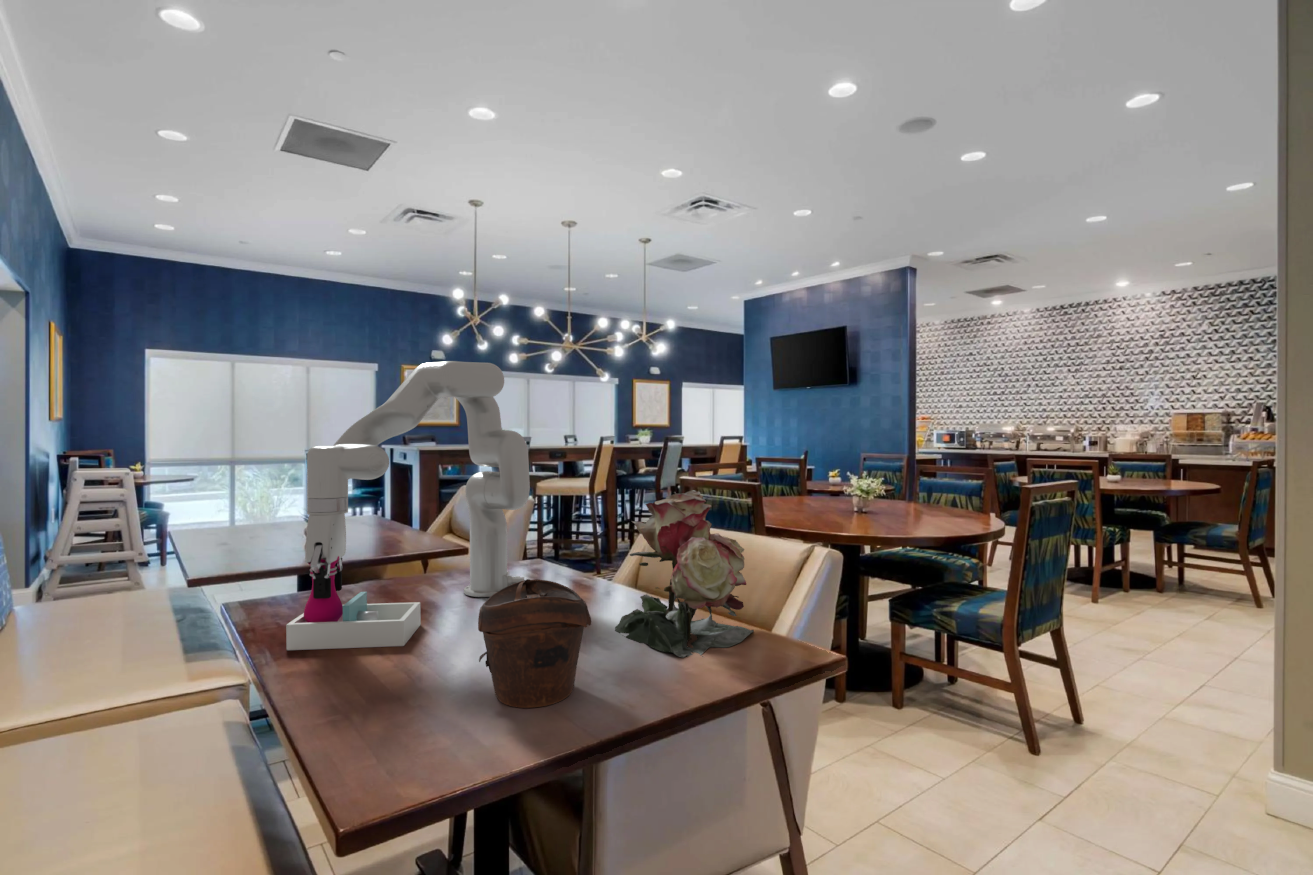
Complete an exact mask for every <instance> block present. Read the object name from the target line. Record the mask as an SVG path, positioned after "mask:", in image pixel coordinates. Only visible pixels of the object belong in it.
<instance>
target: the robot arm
mask: <svg viewBox="0 0 1313 875" xmlns="http://www.w3.org/2000/svg"><path fill="white" fill-rule="evenodd" d="M504 385H505V376H504V373H503V371H502V369H501V368H500V367H499V366H497V365H496V364H494V363H493V362H492V363H491V362H477V361H476V362H472V361H458V360H445V361H432V362H424V363H421V364H419V365H418V366H417V367H416V368H414V369H413V371H411V373H410V374H408V376H407V377H406V378H405V379H404V380H403V382H401V384H400V385H398V387H397V389H396V390H395V391H393V393H392V394H391V396H390V397H388V399H387V400H386V401H385V402H384V403H383V404H382V405H379V406H378V407H377V408H375V409H373V410H372V411H370V412H368V414H366V415H364V416H363V417H362V418H360V419H358V420H357V421H356V422H354V423H353V424H352V425H350V427H349V428H348V429H346V430H345V431H344V433H342V435H340V437H339V438H338V439H337V440H336V442H334V444H333V445H317V446H311V447H310V448H309V449H308V451H307V455H306V460H307V461H306V462H307V463H306V464H307V465H306V470H307V472H306V478H307V480H306V481H307V482H306V489H307V490H306V492H307V494H306V497H307V499H306V500H307V502H306V505H307V506H306V508H307V510H306V512H307V513H306V514H307V515H308V519H307V525H306V526H307V527H306V535H305V550H304V551H305V555H304V556H305V558H304V562H305V563H306V565H309V564H310V565H309V566H310V569H311V568H312V572H313V597H314V598H315V599H320V598H330V597H331V578H329V573H330V565H331V563H332V562H334V561H336V560H337V558H338V556H339V560H338V562H337V563H336V564H335V566H336V567H337V569H336V571H337V573H336V574H335V579H334V582H335V589H336V592H340V591H342V589H343V572H342V570H343V557H344V556H345V555H346V553H347V552H346V550H347V528H346V525H347V524H346V515H345V514H347V513H349V480H351V479H353V480H363V481H364V480H366V481H369V480H375V479H378V478H380V477H382V476H383V475H384V474H385V473H386V472H387V471H388V469H389V466H390V457H389V455H388V453H387V451H385V449H383V448H382V447H380V446H379V445H380V444H381V443H383V442H385V441H387V440H388V439H391V438H393V437H397V436H401V435H403V434H405V433H407V432H409V431H411V430H413V429H414V428H416V427H417V426H418V425H419V424H420V423H421V421H422V420H423V419H424V418H425V416H427V413H428V412H429V411H430V410H431V408H433V407H434V406H435V404H436V403H437V401H439V399H442V398H445V399H446V398H455V399H456V400H457V401H458V402H459V403H460V405H461V406H462V407H463V409H464V411H465V412H464V413H465V415H466V422H467V424H466V425H467V439H468V453H469V457H470V460H471V462H472V463H473V464H475V465H476V466H480V467H485V468H486V467H488V468H489V467H490V468H498V469H499V470H498V471H489V470H486V471H479V472H476V473H474V474H473V475H471V476H470V477H469V479H468V480H467V482H466V485H465V491H464V492H465V499H466V503H467V508H468V509H467V510H468V516H469V518H468V519H469V584H468V585H467V586H465V587H464V588H463V593H464V595H466V596H468V597H472V598H473V597H475V598H490V597H491V596H492V595H493V594H495V593H497V592H498V591H500V590H501V589H503V588H505V587H507V586H510V585H512V584H515V583H518V582H521V581H524V580H525V577H523V576H521V575H520V576H519V575H517V576H516V575H515V576H513V575H510V571H508V523H507V517H506V515H505V512H504V510H507V511H509V510H510V511H515V510H520V509H522V508H523V507H524V506H526V504H527V502H528V500H529V496H530V492H531V490H530V488H531V487H530V484H531V482H530V465H529V464H530V463H529V449H528V444H527V443H526V440H525V438H524V437H523V435H521V434H520V433H519V432H518V431H515V430H505V429H504V430H503V427H502V421H501V420H502V419H501V411H500V407H499V405H498V402H497V401H496V398H495V396H498V394H500V392H502V390H503V388H504ZM321 559H324V560H326V561H327V562H322V563H320V561H321ZM321 566H325V570H324V568H323V567H321Z"/></svg>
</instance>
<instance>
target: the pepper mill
mask: <svg viewBox="0 0 1313 875" xmlns="http://www.w3.org/2000/svg"><path fill="white" fill-rule="evenodd" d="M338 560H339V556H338V558H337V560H336V561H334V562H332V563H331V565H330V573H329V578H331V597H330V598H320V599H315V598H314V597H313V572H312V568H311V567H310V569H309V572H310V573H309V576H310V577H311V581H312V583H311V584H312V585H311V590H310V594H309V597H308V599H307V601H306V603H305V605H304V608H303V613H304V619H305V620H306V621H307V622H308V623H311V622H338V620H339V619H340V617H341V616H342V614H343V606H342V605H343V603H342V600H341V599H340V597H339V594H338V591H336V589H335V582H334V579H335V574H336V573H337V571H336V569H337V567H336V566H335V564H336V563H337V562H338ZM322 562H327V561H326V560H324V559H321V561H320V563H322ZM308 565H309V566H310V564H308ZM321 567H323V568H324V570H325V566H321Z"/></svg>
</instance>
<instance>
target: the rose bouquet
mask: <svg viewBox="0 0 1313 875" xmlns="http://www.w3.org/2000/svg"><path fill="white" fill-rule="evenodd" d="M701 494H702V493H701V492H700V491H697V490H694V489H692V490H689V491H685V493H684V492H683V493H676V491H674V494H672V495H671V494H670V495H668V496H666V497H665V498H663V499H661V500H656V501H653V502H647V503H644V504H645V506H646V507H647V511H648V512H649V513H650V514H651V516H649V517H648V519H647V520H646V522H645V523H644V522H643V521H633V520H632V521H631V522H632V524H634V527H636V529H637V530H638V533H639V534H640V535H642V537H643V538H644V540H645V541H646V543H647V544H648V545H649V548H651V549H653V550H654V551H637V552H632V553H630V554H629V556H631V557H637V556H638V557H643V558H644V557H645V558H652V559H653V558H654V559H656V558H657V559H658V558H660V559H659V562H661V563H662V562H668V561H669V562H671V566H672V572H671V576H670V578H669V579H670V580H669V585H667V586H665V587H664V588H663V591H664V592H667V593H668V605H666V604H664V603H663V602H662V601H661V599H660V597H653V596H652V595H649V594H643V595H641V596H640V597H639V598H640V599H641V602H642V603H641V607H642V609H643V610H640V609H638V608H637V609H634V610H632V611H631V612H630V613H627V614H624V615H621V618H620V620H619V623H618V624H616V626H615V627H614V629H615V630H614V632H616V633H618V634H619V635H621V634H627V635H626V636H624V635H622V637H624V638H627V639H629V640H632V641H635V642H637V643H639V644H646V645H648V646H649V647H651V648H652V649H654V650H656V651H660V652H662V653H666V654H667V653H668V654H674V655H675V656H677V657H679V658H688V657H690V656H693V655H694V653H695V654H699V655H700V656H701V657H702V658H704V656H703V654H704V652H706V651H707V650H708V649H709V648H726V649H727V648H730V647H733V646H734V645H737V644H741V643H742V642H743V641H744V640H745V639H746V638H747V637H748V636H750V634H753V633H754V632H755V631H754V630H755V629H749V628H746V627H745V626H744V627H743V626H738V625H731V624H725V623H724V624H723V623H718V622H716V620H713V614H712V612H713V611H712V608H719V607H722V608H724V609H726V610H728V612H727V614H728V615H730V616H733V617H737V616H738V615H737V614H736V611H738V610H739V611H740V610H742V609H743V608H744V606H745V605H744V602H743V600H742V601H741V600H739V599H737V598H740V597H739V596H738V595H734V594H732V592H733V591H734V590H735V588H736V587H738V586H739V587H740V586H741V585H742V586H747V581H746V580H745V578H744V575H743V573H742V572H741V571H743V570H744V568H745V557H744V554H743V553H744V551H745V548H744V547H742V546H741V545H740V544H739V542H738V541H737V540H736V539H733V538H729V537H728V536H725V535H724V536H723V535H721V534H720V533H711V527H712V523H711V522H710V521H709V520H706V517H707V514H708V512H709V511H710V509H711V508H712V505H711V504H709V503H706V502H707V501H706V500H705V499H703V498H704V496H703V495H701ZM602 566H603V567H604V564H602ZM639 566H640V567H648V566H649V563H648V562H640V563H639ZM656 589H659V590H661V588H660V587H656ZM680 599H681V600H682V599H683V600H684V601H681V600H680ZM675 600H677V602H678V603H677V607H676V605H675ZM703 607H706V609H707V611H708V612H709V616H708V617H706V618H701V619H697V620H693V618H694V616H695V615H696V612H697V609H702V608H703ZM711 607H712V608H711ZM734 610H736V611H734ZM722 622H723V621H722ZM692 635H694V636H695V637H696V640H693V641H692V642H691V643H690V645H691V646H692V647H690V646H688V641H691V640H692Z"/></svg>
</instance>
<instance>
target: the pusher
mask: <svg viewBox="0 0 1313 875" xmlns="http://www.w3.org/2000/svg"><path fill="white" fill-rule="evenodd" d="M367 604H368V592H367V591H360V592H359V593H358V594H355V596H353V597H352V598H350V600H348V601H346V602H345V603H344V604H342V605H343V621H370V620H378V611H367Z"/></svg>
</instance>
